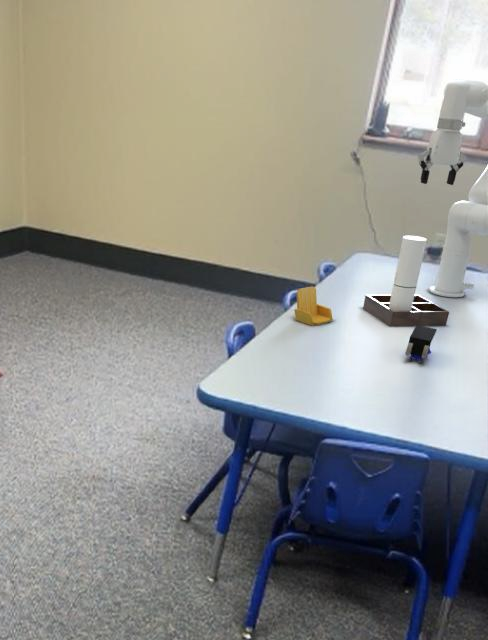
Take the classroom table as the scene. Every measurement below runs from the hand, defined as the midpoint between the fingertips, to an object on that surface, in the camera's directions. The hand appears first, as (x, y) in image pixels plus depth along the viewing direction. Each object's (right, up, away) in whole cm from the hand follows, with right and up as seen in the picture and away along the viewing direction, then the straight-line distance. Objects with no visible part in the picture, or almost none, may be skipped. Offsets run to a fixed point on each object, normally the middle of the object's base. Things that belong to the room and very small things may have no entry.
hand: (436, 183), depth 265 cm
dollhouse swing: (-43, -48, -9) cm, 64 cm away
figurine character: (-16, -65, -34) cm, 75 cm away
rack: (-10, -43, +2) cm, 45 cm away
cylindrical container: (-14, -46, -4) cm, 48 cm away
